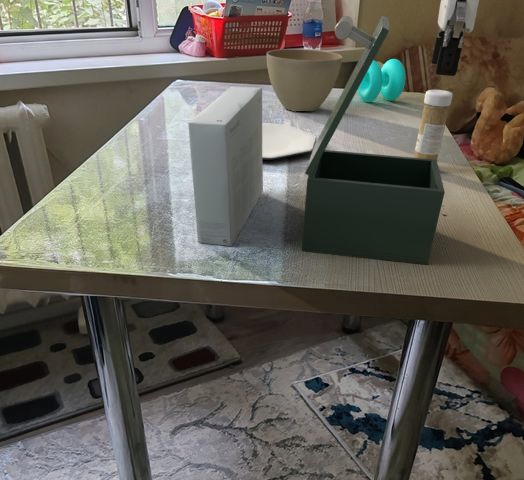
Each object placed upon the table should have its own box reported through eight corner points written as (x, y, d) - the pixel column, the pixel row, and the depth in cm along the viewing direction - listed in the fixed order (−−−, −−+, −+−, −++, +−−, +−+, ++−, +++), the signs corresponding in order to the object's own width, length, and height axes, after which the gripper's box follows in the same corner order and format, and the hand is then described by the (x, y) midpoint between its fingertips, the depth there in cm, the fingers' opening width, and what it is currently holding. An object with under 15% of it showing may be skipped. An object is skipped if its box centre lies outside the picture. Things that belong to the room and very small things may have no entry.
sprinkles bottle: (412, 164, 105) (427, 87, 97) (437, 167, 103) (454, 90, 95) (409, 171, 101) (424, 92, 93) (434, 175, 100) (451, 95, 92)
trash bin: (422, 226, 81) (436, 159, 75) (427, 264, 71) (444, 191, 65) (311, 214, 83) (317, 149, 77) (301, 251, 73) (307, 178, 67)
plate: (268, 124, 124) (268, 117, 123) (338, 152, 109) (339, 144, 108) (176, 138, 113) (176, 131, 112) (240, 172, 98) (240, 163, 97)
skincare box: (231, 189, 91) (231, 84, 81) (263, 192, 90) (266, 87, 80) (192, 243, 74) (186, 119, 65) (231, 247, 73) (231, 123, 64)
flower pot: (349, 114, 134) (356, 59, 126) (282, 119, 128) (285, 61, 121) (316, 98, 147) (320, 47, 140) (254, 102, 141) (255, 49, 134)
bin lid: (388, 18, 67) (351, -4, 66) (389, 30, 57) (345, 4, 56) (319, 147, 77) (287, 129, 77) (310, 176, 67) (272, 156, 67)
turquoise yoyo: (352, 97, 149) (357, 56, 143) (383, 96, 152) (389, 55, 146) (370, 106, 142) (376, 63, 136) (403, 104, 145) (410, 62, 139)
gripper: (506, -55, 75) (471, 81, 85) (487, -56, 88) (459, 62, 99) (450, -58, 76) (422, 77, 86) (440, -59, 89) (417, 59, 100)
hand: (442, 69), depth 92 cm, fingers open, 9 cm apart
